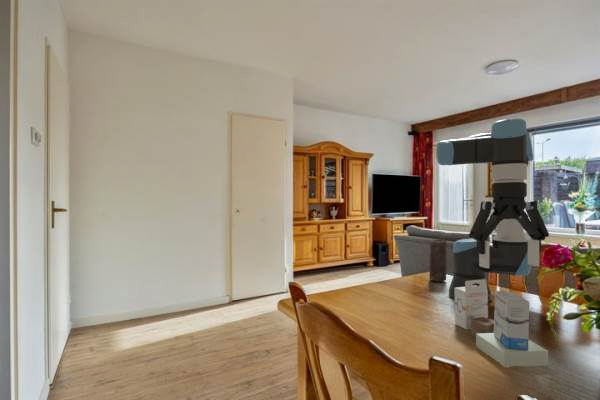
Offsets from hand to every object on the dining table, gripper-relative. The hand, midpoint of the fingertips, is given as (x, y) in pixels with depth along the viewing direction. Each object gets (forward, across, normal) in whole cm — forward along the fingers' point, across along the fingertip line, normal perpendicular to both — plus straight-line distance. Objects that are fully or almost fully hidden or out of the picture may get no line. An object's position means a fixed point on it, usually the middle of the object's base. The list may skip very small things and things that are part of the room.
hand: (509, 266), depth 83 cm
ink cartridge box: (+23, -3, -19) cm, 30 cm away
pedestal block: (+23, 0, 0) cm, 23 cm away
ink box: (+19, 0, 0) cm, 19 cm away
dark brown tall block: (+23, -22, -71) cm, 78 cm away
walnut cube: (+23, -1, -10) cm, 25 cm away
